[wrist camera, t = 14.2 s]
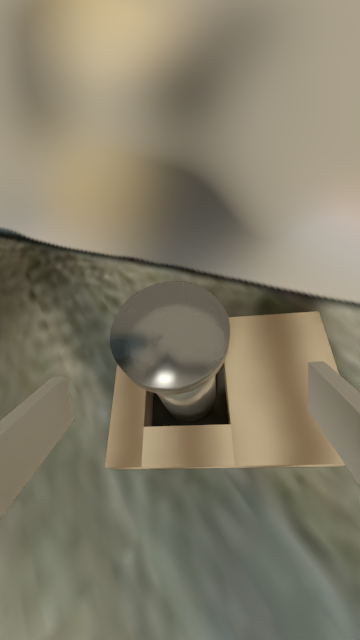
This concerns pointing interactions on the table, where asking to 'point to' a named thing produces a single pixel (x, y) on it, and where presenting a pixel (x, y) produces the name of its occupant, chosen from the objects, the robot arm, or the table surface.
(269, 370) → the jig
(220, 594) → the table surface
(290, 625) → the table surface
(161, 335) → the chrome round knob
